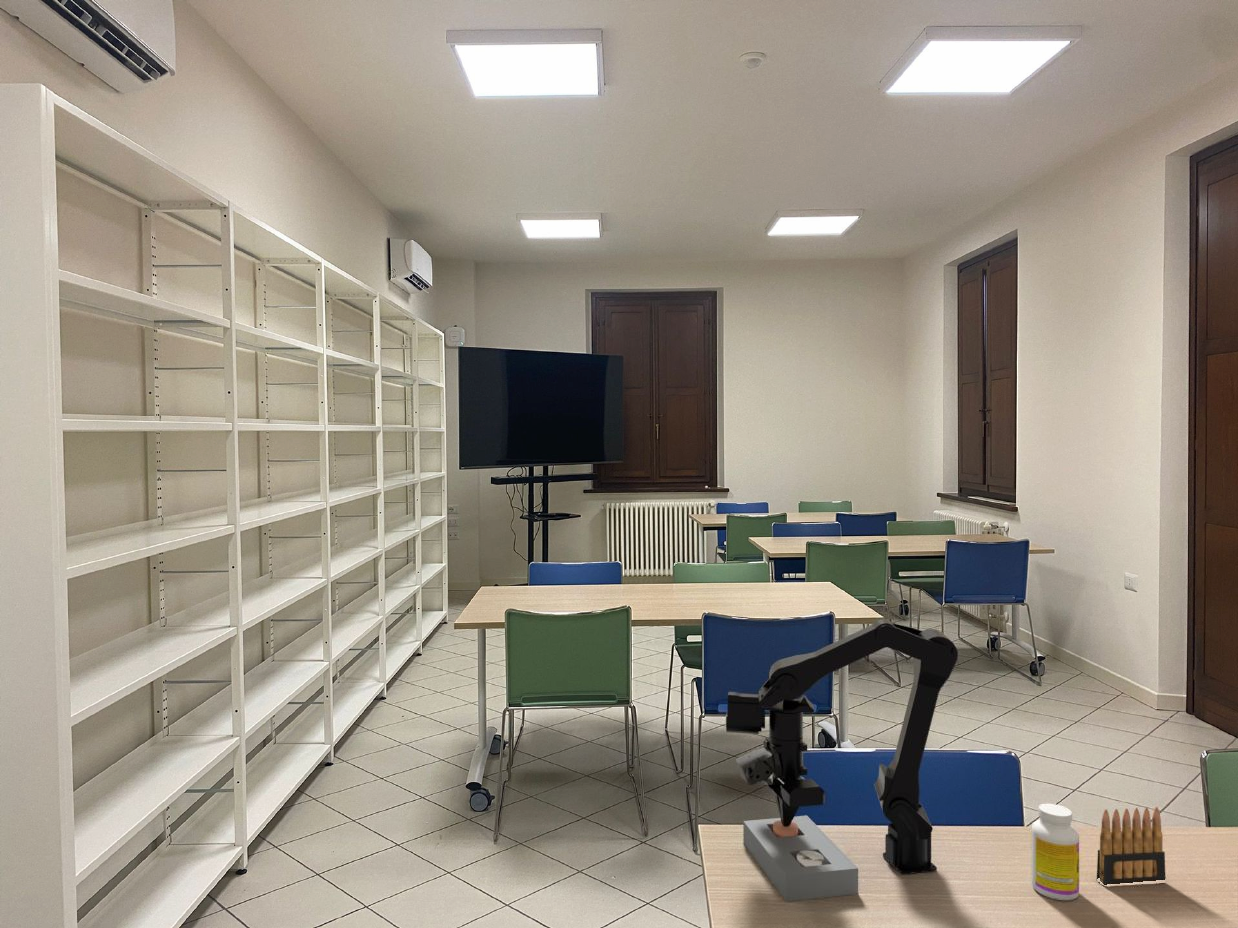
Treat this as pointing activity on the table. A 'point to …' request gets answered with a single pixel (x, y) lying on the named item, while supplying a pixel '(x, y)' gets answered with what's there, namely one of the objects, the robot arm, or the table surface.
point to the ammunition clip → (1131, 848)
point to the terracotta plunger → (785, 829)
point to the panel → (788, 873)
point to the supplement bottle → (1055, 853)
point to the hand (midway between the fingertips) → (785, 825)
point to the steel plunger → (809, 858)
